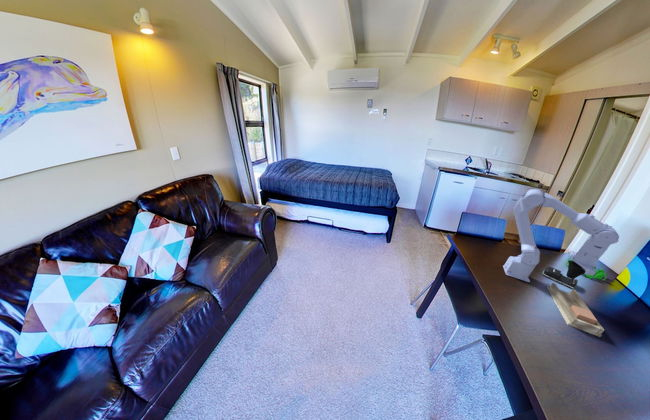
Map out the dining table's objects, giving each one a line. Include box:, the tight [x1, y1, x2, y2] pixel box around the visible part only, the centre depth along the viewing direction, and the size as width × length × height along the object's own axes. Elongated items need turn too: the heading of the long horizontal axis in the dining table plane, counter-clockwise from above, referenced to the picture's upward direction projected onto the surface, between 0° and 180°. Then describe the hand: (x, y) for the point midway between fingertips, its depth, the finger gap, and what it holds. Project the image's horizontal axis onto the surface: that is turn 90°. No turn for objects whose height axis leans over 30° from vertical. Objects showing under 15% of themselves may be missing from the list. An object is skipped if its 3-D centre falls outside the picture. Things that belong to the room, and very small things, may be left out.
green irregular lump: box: [565, 257, 608, 281], centre depth 109 cm, size 15×15×7 cm
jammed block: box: [571, 305, 598, 325], centre depth 80 cm, size 5×5×4 cm
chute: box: [546, 282, 605, 338], centre depth 85 cm, size 9×22×4 cm, turn 150°
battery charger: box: [542, 266, 579, 290], centre depth 102 cm, size 7×4×11 cm
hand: (569, 277), depth 90 cm, fingers closed
